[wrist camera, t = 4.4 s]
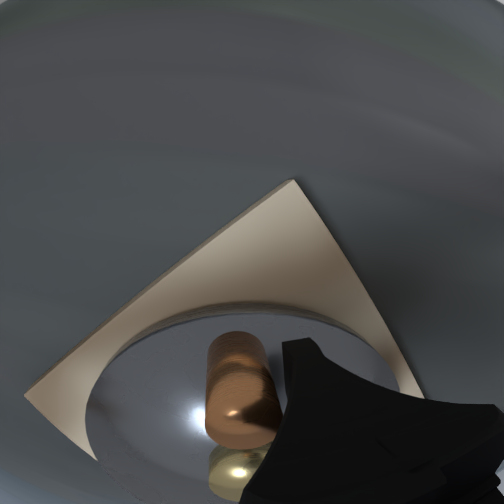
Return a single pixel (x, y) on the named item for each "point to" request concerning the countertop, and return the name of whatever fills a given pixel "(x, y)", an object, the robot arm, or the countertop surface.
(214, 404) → the handwheel
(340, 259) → the wheel base
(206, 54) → the countertop surface
